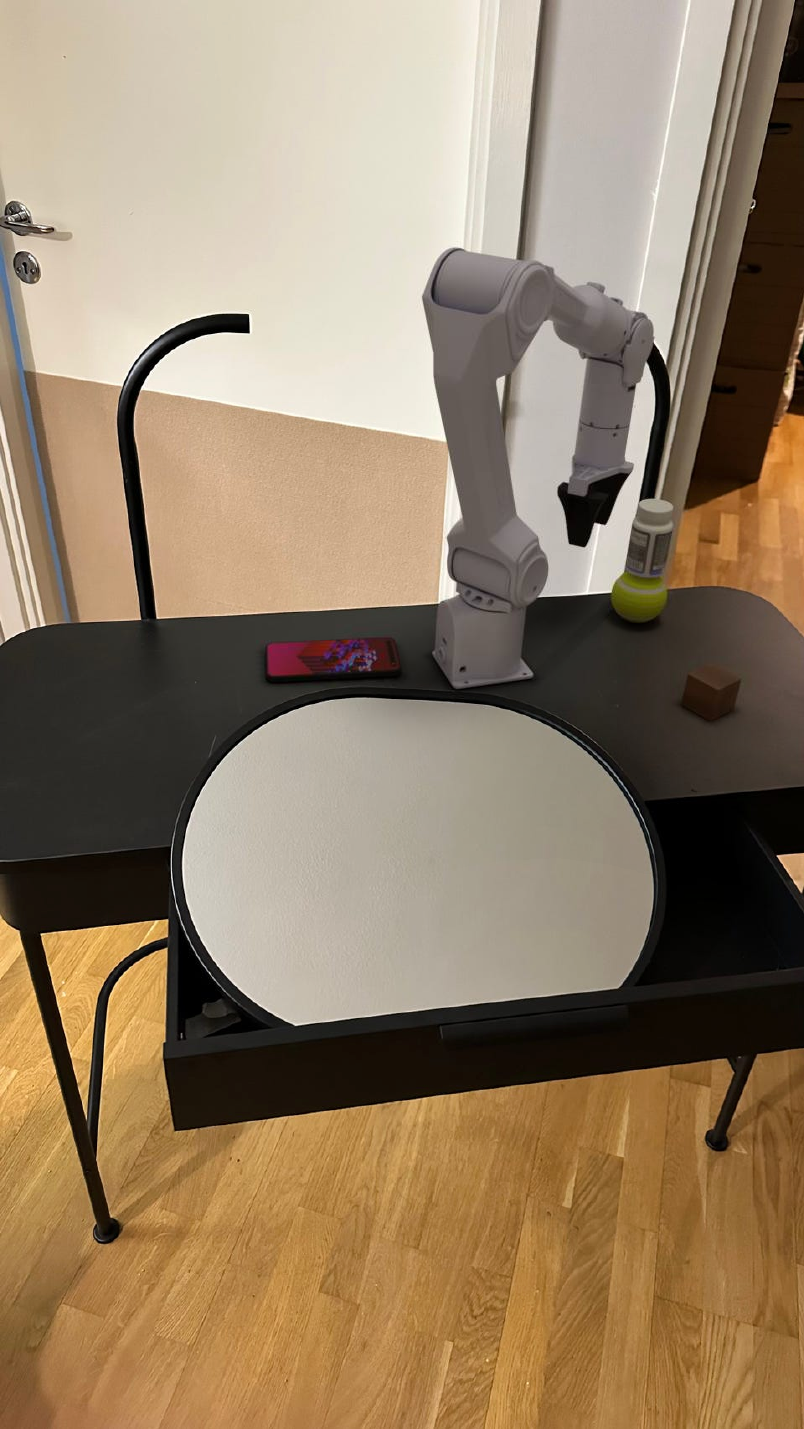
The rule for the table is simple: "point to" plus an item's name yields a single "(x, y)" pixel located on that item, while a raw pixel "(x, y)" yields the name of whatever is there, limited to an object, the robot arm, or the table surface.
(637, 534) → the pill bottle
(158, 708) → the table surface
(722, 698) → the walnut block
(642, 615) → the tennis ball
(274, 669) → the smartphone
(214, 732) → the table surface
